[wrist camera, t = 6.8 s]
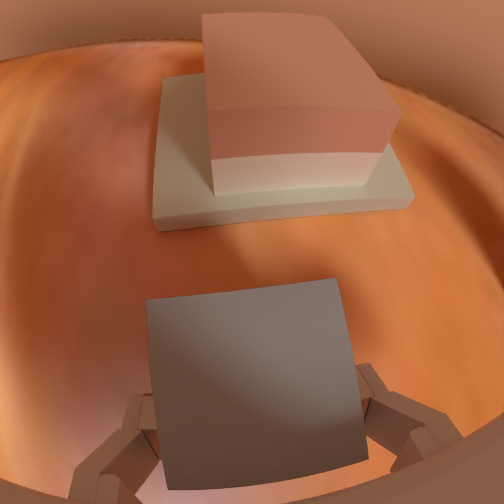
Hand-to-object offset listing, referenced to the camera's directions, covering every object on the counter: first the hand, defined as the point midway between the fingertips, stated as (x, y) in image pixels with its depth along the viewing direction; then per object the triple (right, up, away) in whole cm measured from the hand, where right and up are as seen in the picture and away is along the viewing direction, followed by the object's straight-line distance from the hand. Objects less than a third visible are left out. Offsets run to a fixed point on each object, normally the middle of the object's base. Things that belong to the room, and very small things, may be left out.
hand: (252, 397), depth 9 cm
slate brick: (0, -2, +5) cm, 5 cm away
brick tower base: (+2, +13, +11) cm, 18 cm away
